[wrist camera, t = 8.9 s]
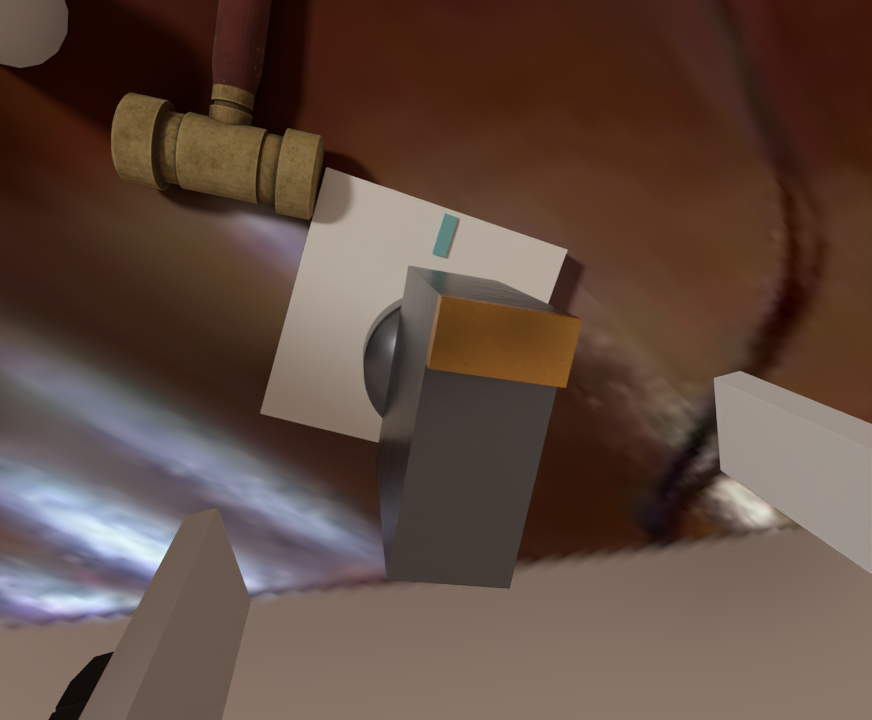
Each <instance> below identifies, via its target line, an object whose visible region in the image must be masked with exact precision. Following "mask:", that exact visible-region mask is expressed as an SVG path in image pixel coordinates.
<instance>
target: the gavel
mask: <svg viewBox="0 0 872 720" xmlns="http://www.w3.org/2000/svg"><path fill="white" fill-rule="evenodd" d="M271 4H272V0H219V5H218V14H217V22H216V30H215V38H214V47H213V55H212V73H213V91H212V99H211V100H212V102H214V105H210V111H209V116H205V115H201V114H196V113H192V112H188V113H187V114H182V113H178V112H176V110H175V107H174V105H173V104H172V103H171V102H170V101H168V100H163V99H159V98H154V97H150V96H146V95H141V94H137V93H133V92H131V93H128V94H126V95H125V96H124V97H123V99H122V100H121V101H120V103H119V104H118V106H117V109H116V111H115V114H114V119H113V124H112V132H111V148H112V157H113V162H114V165H115V168H116V170H117V172H118V174H119V176H120V178H121V179H122V180H123V181H124V182H125V183H128V184H133V185H138V186H143V187H148V188H153V189H158V190H165V189H167V188H168V187H169V185H170V183H173V184H178V185H180V186H181V187H182V188H183V189H188V190H193V191H197V192H202V193H207V194H212V195H217V196H222V197H227V198H232V199H237V200H242V201H247V202H252V203H256V204H259V203H260V202H266V203H271V204H275V209H276V213H277V214H282V215H287V216H292V217H297V218H302V219H307V220H309V219H310V218H311V217H312V216H313V215H314V211H315V207H316V203H317V198H318V192H319V185H320V179H321V172H322V165H323V155H324V141H323V139H322V137H321V136H320V135H316V134H312V133H307V132H303V131H298V130H294V129H290V128H288V129H287V130H286V132H285V134H284V136H279V135H275V134H270V133H269V132H268V130H267V129H262V128H258V127H254V126H252V119H253V117H252V116H251V115H250V113H251V112H253V107H254V100H255V95H256V92H257V89H258V86H259V83H260V79H261V76H262V71H263V63H264V56H265V49H266V41H267V34H268V26H269V19H270V11H271Z"/></svg>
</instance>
